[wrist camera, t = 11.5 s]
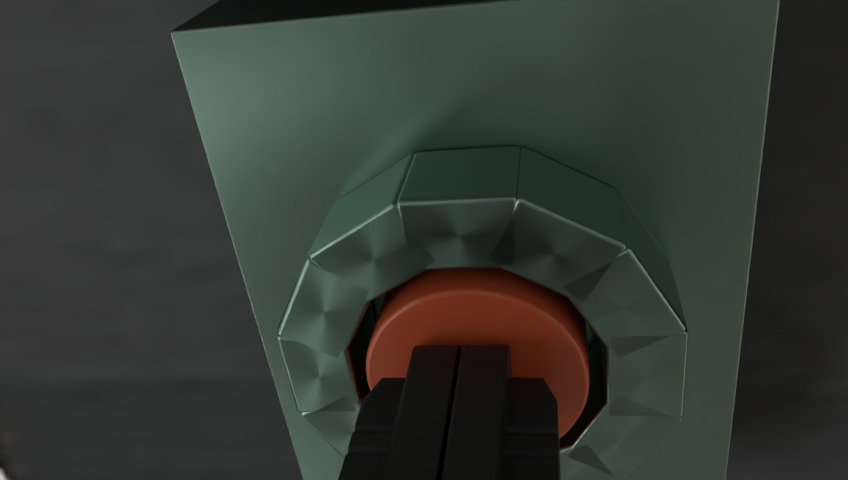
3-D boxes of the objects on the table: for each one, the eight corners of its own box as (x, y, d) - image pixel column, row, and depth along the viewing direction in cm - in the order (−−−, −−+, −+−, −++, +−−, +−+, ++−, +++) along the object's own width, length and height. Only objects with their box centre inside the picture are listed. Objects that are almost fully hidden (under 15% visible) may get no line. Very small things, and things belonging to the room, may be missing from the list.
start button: (370, 235, 13) (346, 293, 11) (583, 227, 12) (589, 288, 11) (399, 393, 15) (382, 461, 13) (587, 394, 14) (591, 466, 12)
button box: (221, -2, 13) (110, 67, 10) (747, -57, 12) (827, 5, 8) (333, 436, 19) (286, 577, 16) (703, 443, 17) (741, 602, 14)
